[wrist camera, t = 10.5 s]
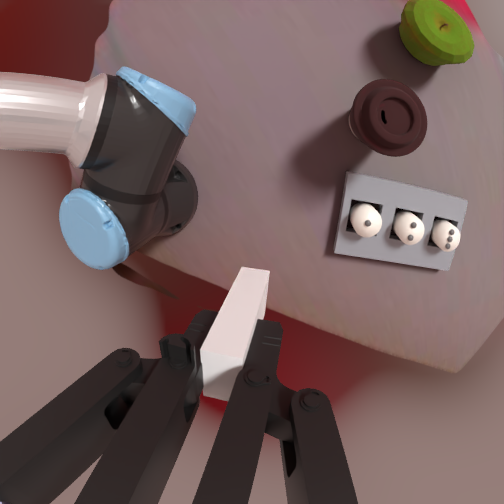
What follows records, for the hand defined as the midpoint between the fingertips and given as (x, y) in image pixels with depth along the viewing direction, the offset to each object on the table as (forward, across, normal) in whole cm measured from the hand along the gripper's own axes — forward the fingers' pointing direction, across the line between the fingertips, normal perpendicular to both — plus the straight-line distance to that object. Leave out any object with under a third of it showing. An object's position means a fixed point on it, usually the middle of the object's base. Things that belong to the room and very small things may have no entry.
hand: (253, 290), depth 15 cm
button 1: (+34, +13, -3) cm, 36 cm away
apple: (+35, +22, +32) cm, 52 cm away
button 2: (+34, +21, -3) cm, 40 cm away
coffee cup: (+35, +12, +13) cm, 39 cm away
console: (+34, +21, -3) cm, 40 cm away
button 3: (+34, +29, -3) cm, 44 cm away
